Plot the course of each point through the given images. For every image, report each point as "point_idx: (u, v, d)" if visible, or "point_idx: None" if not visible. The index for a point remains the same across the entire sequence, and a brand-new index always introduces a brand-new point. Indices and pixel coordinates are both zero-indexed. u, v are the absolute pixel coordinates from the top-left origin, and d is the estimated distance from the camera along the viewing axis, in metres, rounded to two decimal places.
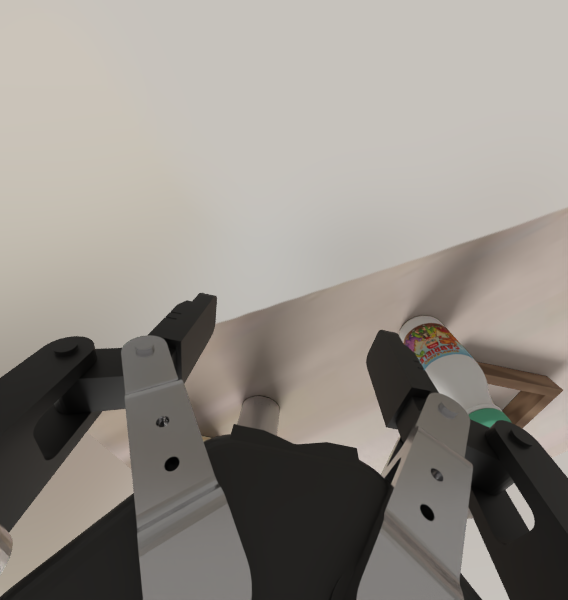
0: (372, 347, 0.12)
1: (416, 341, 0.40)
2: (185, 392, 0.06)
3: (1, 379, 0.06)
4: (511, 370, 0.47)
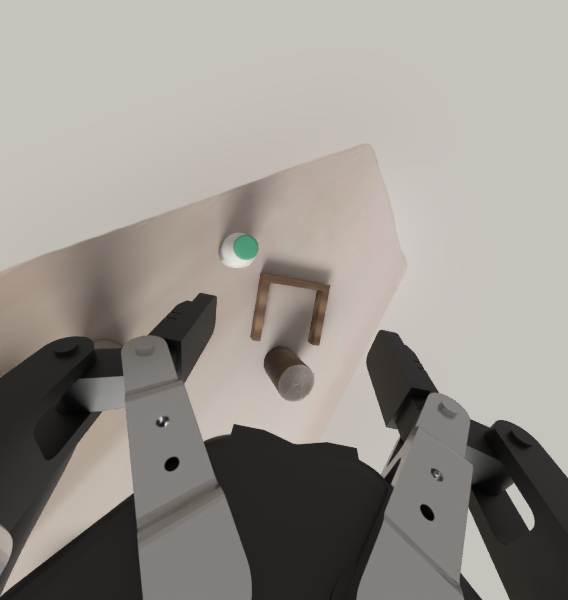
0: (372, 347, 0.12)
1: None
2: (185, 392, 0.06)
3: (1, 379, 0.06)
4: None
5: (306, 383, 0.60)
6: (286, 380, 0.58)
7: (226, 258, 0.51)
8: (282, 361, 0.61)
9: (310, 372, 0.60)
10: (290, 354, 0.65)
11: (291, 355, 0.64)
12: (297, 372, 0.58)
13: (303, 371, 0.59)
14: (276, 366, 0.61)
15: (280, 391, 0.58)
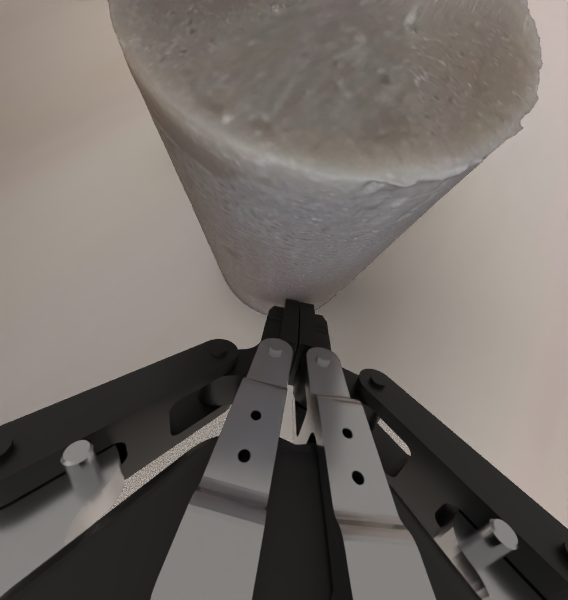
0: None
1: None
2: (283, 402, 0.06)
3: (175, 356, 0.07)
4: None
5: (464, 13, 0.05)
6: None
7: None
8: None
9: None
10: None
11: None
12: None
13: None
14: None
15: (127, 10, 0.04)
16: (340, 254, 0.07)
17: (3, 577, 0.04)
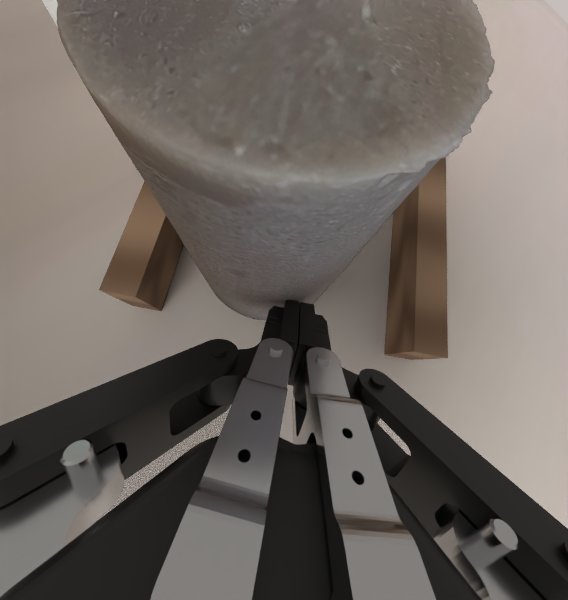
0: None
1: None
2: (283, 402, 0.06)
3: (175, 356, 0.07)
4: None
5: None
6: None
7: None
8: None
9: None
10: None
11: None
12: None
13: None
14: None
15: (96, 63, 0.04)
16: (348, 245, 0.07)
17: (3, 577, 0.04)
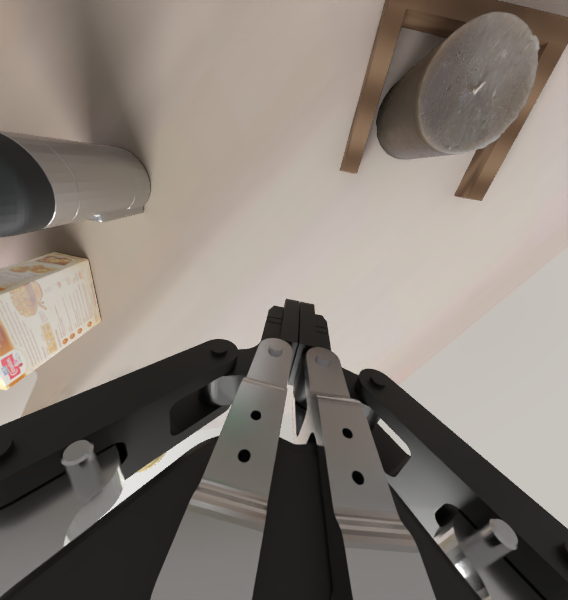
0: None
1: None
2: (284, 402, 0.06)
3: (175, 356, 0.07)
4: None
5: (511, 81, 0.21)
6: (441, 88, 0.21)
7: None
8: (422, 60, 0.23)
9: (525, 34, 0.19)
10: None
11: None
12: (477, 47, 0.20)
13: (499, 37, 0.19)
14: (407, 83, 0.24)
15: (426, 129, 0.22)
16: None
17: (3, 577, 0.04)
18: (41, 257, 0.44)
